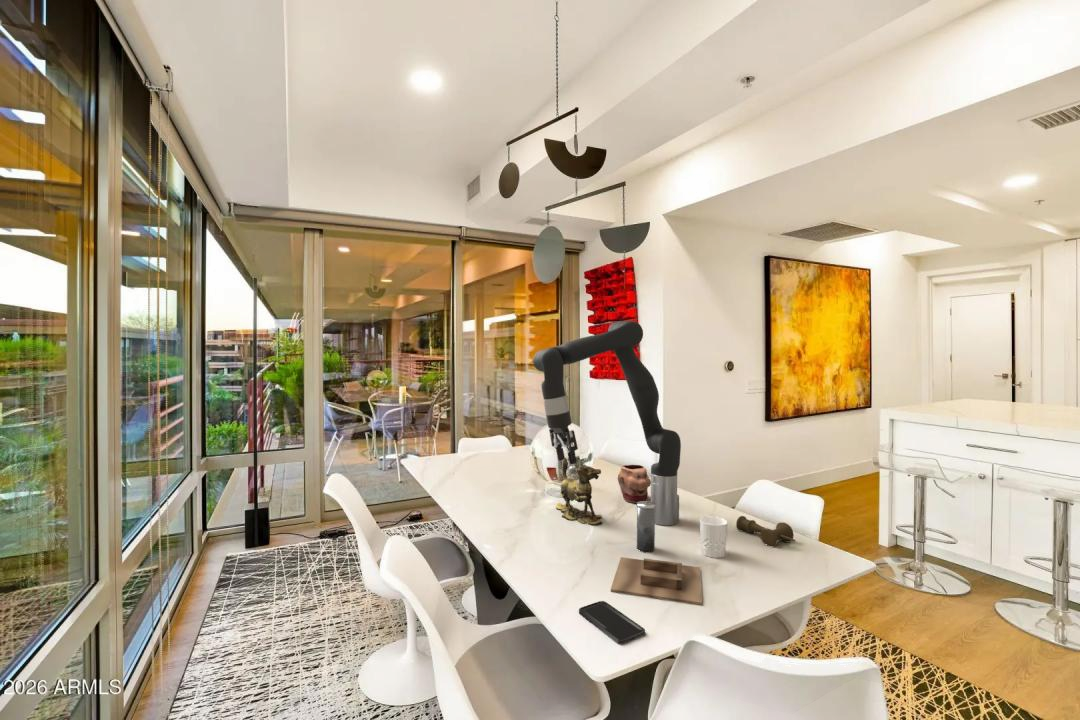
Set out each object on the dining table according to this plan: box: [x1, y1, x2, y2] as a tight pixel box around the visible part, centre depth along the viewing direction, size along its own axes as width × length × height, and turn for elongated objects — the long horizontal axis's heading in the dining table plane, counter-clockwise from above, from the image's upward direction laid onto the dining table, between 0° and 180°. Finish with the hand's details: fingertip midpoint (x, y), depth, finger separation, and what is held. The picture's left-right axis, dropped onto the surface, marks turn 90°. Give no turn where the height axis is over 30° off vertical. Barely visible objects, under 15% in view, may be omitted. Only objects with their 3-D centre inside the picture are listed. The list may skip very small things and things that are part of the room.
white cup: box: [699, 515, 728, 559], centre depth 145 cm, size 8×8×10 cm
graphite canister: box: [636, 500, 656, 553], centre depth 148 cm, size 6×6×14 cm
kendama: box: [735, 515, 796, 547], centre depth 156 cm, size 6×10×20 cm
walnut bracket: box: [610, 556, 703, 606], centre depth 127 cm, size 22×20×3 cm
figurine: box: [555, 457, 603, 526], centre depth 179 cm, size 13×25×20 cm, turn 31°
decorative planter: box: [617, 464, 651, 504], centre depth 198 cm, size 20×12×14 cm, turn 22°
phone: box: [578, 600, 646, 645], centre depth 107 cm, size 8×1×15 cm
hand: (567, 461), depth 151 cm, fingers open, 8 cm apart
